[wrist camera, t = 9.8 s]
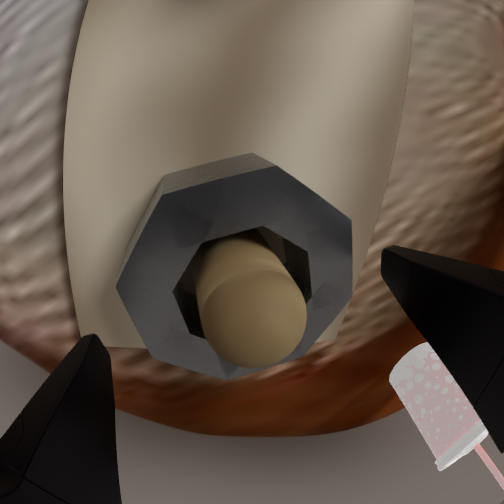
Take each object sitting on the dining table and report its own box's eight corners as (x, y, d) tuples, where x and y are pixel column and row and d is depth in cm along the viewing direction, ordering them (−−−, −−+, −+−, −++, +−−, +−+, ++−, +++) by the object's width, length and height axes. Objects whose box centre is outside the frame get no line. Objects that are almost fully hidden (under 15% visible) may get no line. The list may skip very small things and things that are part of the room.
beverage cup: (367, 394, 20) (453, 531, 8) (409, 335, 18) (528, 480, 6) (413, 386, 22) (492, 494, 10) (450, 333, 20) (549, 443, 8)
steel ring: (309, 141, 10) (347, 152, 8) (324, 302, 13) (350, 337, 11) (106, 193, 9) (86, 219, 7) (170, 348, 12) (174, 393, 10)
